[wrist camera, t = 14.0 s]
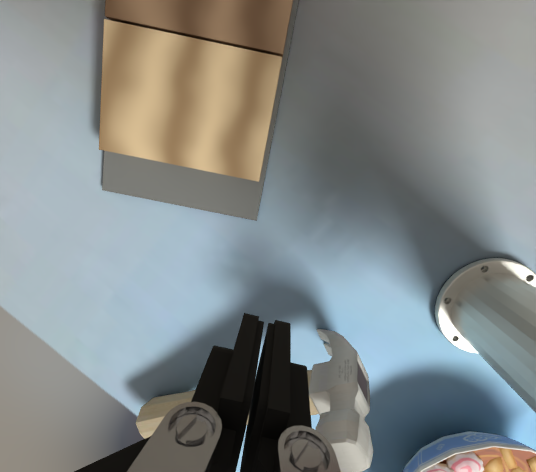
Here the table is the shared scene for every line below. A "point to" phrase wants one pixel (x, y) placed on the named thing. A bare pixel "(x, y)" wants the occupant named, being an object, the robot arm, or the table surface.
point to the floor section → (219, 31)
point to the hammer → (313, 404)
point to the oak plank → (186, 100)
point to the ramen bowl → (473, 455)
